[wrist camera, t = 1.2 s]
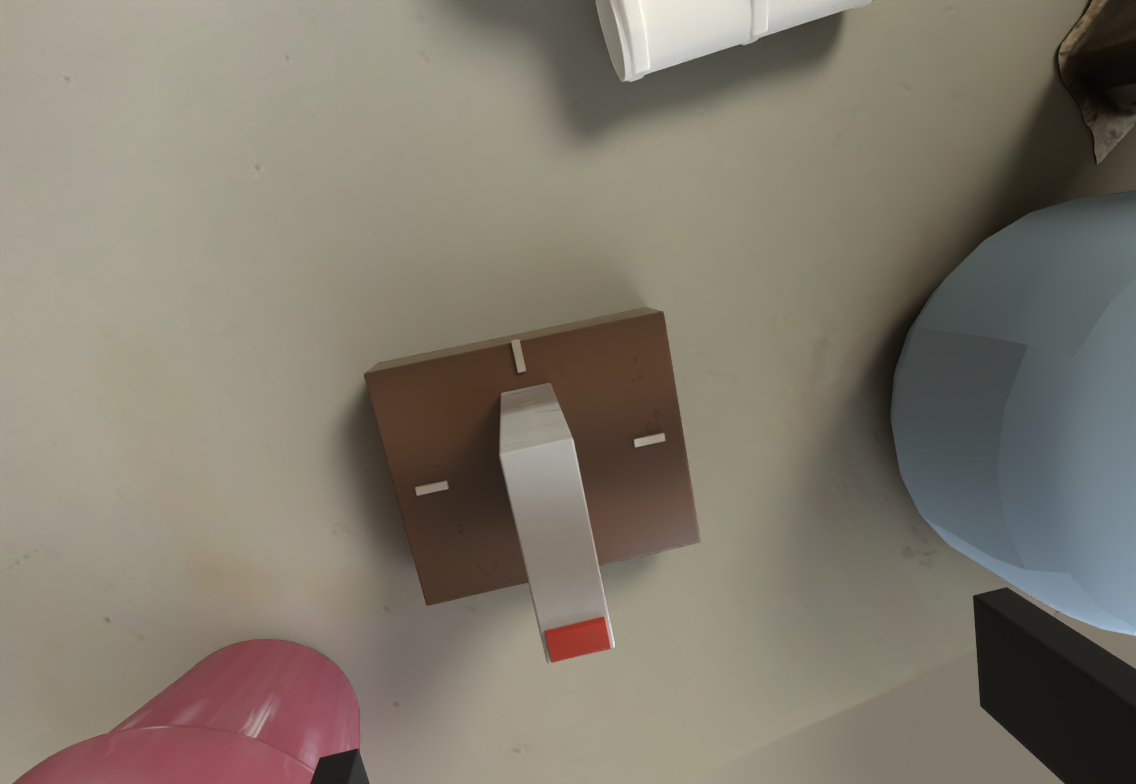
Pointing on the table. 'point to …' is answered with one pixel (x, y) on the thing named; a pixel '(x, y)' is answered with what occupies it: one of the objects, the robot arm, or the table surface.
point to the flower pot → (224, 724)
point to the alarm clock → (1033, 408)
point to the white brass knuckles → (696, 27)
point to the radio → (1103, 70)
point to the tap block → (472, 434)
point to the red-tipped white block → (553, 524)
